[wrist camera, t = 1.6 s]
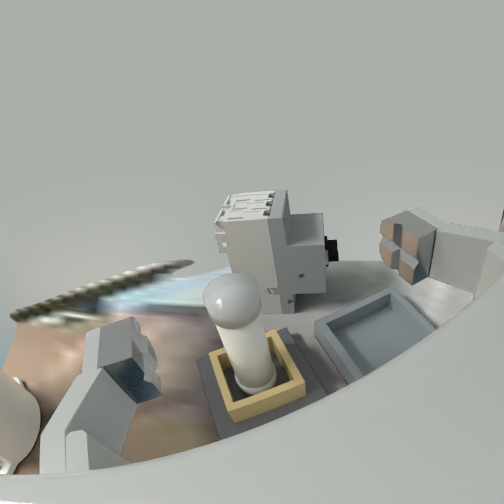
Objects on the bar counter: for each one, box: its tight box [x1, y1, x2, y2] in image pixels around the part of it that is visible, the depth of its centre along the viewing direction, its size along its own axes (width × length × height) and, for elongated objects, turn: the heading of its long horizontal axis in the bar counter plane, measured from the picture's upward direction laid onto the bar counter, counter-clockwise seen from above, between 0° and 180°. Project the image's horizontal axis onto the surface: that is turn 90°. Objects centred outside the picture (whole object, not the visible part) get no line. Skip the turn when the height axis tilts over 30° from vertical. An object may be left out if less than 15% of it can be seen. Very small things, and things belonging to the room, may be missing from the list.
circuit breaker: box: [214, 190, 339, 314], centre depth 40 cm, size 8×14×15 cm, turn 81°
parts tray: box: [315, 286, 436, 385], centre depth 32 cm, size 12×14×3 cm
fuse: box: [203, 273, 278, 397], centre depth 28 cm, size 4×4×14 cm
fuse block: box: [196, 327, 328, 440], centre depth 31 cm, size 12×12×4 cm
